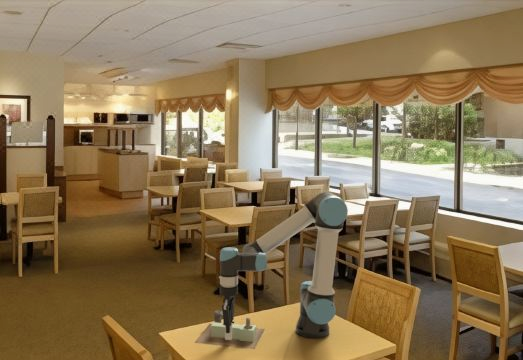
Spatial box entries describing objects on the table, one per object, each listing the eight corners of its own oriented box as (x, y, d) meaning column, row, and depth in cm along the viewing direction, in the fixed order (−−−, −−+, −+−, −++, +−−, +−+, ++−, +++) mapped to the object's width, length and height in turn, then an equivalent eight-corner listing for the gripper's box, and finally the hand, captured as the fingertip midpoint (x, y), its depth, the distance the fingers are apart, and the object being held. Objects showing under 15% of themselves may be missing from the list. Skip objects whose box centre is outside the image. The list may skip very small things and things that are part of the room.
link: (256, 336, 234) (256, 325, 233) (253, 341, 228) (253, 330, 227) (214, 332, 237) (214, 321, 237) (210, 337, 232) (210, 326, 231)
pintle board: (264, 331, 242) (265, 309, 241) (254, 351, 221) (254, 327, 220) (209, 325, 247) (209, 304, 246) (194, 344, 226) (194, 322, 225)
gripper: (224, 279, 230) (224, 332, 233) (215, 289, 218) (215, 344, 220) (241, 280, 229) (240, 333, 232) (233, 290, 216) (233, 346, 219)
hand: (228, 339), depth 226 cm, fingers closed
